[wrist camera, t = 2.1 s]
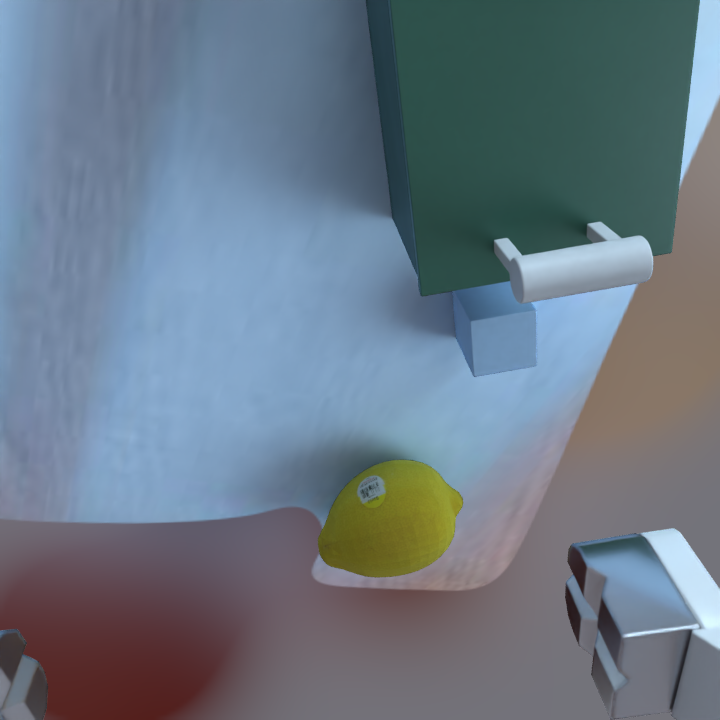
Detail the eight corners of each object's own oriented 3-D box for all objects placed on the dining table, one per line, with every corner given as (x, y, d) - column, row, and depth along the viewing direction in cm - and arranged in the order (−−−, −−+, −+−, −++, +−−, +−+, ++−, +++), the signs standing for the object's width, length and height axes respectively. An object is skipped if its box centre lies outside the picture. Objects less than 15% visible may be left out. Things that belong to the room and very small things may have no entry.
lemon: (445, 428, 49) (471, 503, 42) (456, 503, 53) (481, 583, 46) (303, 457, 49) (305, 536, 42) (325, 530, 53) (330, 614, 46)
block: (513, 328, 45) (537, 366, 40) (455, 338, 45) (473, 377, 40) (511, 275, 43) (537, 309, 38) (451, 286, 43) (470, 321, 38)
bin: (594, 183, 40) (666, 232, 32) (392, 218, 40) (416, 276, 32) (611, -210, 30) (718, -269, 23) (345, -164, 30) (364, -209, 23)
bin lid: (665, 248, 33) (731, 296, 28) (418, 291, 33) (441, 346, 28) (719, -269, 23) (837, -335, 18) (364, -210, 23) (385, -259, 18)
